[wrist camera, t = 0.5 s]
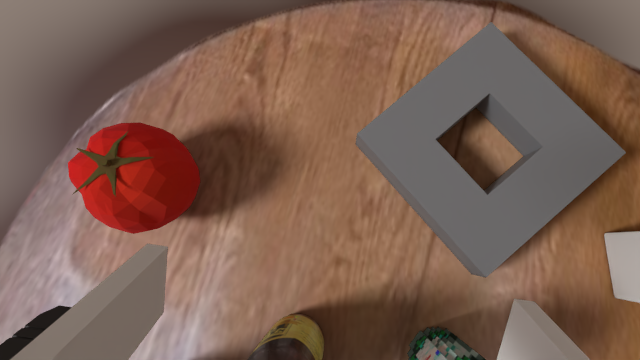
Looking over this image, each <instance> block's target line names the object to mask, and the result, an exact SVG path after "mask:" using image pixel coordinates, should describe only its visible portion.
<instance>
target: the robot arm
mask: <svg viewBox="0 0 640 360" xmlns="http://www.w3.org/2000/svg"><path fill="white" fill-rule="evenodd" d="M167 252H168V247H167V246H160V245H153V244H146V245H145V246H144V247H143V248H142V249H141V250H139V251H138V252H137V253H136V254H135V255H133V256H132V257H131V258H130V259H129V260H127V261H126V262H125V263H124V264H123V265H122V266H120V267H119V268H118V269H117V270H116V271H114V272H113V273H112V274H111V275H110V276H109V277H107V278H106V279H105V280H104V281H103V282H101V283H100V284H99V285H98V286H97V287H96V288H94V289H93V290H92V291H91V292H90V293H88V294H87V295H86V296H85V297H84V298H82V299H81V300H80V301H79V302H78V303H77V304H75V305H74V306H73V307H65V306H57V307H55V308H53V309H51V310H49V311H46V312H44V313H42V314H40V315H38V316H37V317H36V318H34V319H33V320H32V321H31V322H29V323H28V324H27V325H25V328H22V329H20V330H19V331H18V332H16V333H15V334H14V335H13V337H12V338H9V339H7V340H6V341H5V342H4V343H2V344H1V345H0V360H128V359H129V358H130V356H131V355H132V354H133V352H134V351H135V350H136V348H137V347H138V346H139V344H140V343H141V342H142V340H143V339H144V338H145V336H146V335H147V334H148V332H149V331H150V330H151V328H152V327H153V326H154V324H155V323H156V322H157V320H158V319H159V318H160V316H161V315H162V314H163V312H164V297H165V282H166V267H167ZM497 360H590V359H589V358H588V357H587V356H586V355H585V354H584V353H583V352H582V351H581V350H580V349H579V348H578V346H577V345H576V344H575V343H574V342H573V341H572V340H571V339H570V338H569V337H568V336H567V335H566V334H565V333H564V332H563V331H562V330H561V329H560V328H559V327H558V326H557V325H556V324H555V323H554V322H553V320H552V319H551V318H550V317H549V316H548V315H547V314H546V313H545V312H544V311H543V310H542V309H541V308H540V307H539V306H538V305H537V304H536V303H535V302H534V301H527V300H520V299H514V301H513V305H512V308H511V312H510V315H509V319H508V322H507V326H506V329H505V332H504V336H503V339H502V343H501V346H500V350H499V353H498V357H497Z"/></svg>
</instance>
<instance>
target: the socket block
mask: <svg viewBox="0 0 640 360" xmlns="http://www.w3.org/2000/svg"><path fill="white" fill-rule="evenodd" d="M474 108H477V109H478V110H479V111H480V112H481V113H482V114H483V115H484V116H485V117H486V118H487V119H488V120H489V121H490V122H491V123H492V124H493V125H494V126H495V127H496V128H497V129H498V130H499V131H500V132H501V134H502V135H503V136H504V137H505V138H506V139H507V140H508V141H509V142H510V143H511V144H512V145H513V146H514V147H515V148H516V149H517V150H518V151H519V152H520V153H521V154H522V155H523V157H522V158H521V159H520V160H519V161H518V162H516V163H515V164H514V165H513V166H512V167H511V168H509V169H508V170H507V171H506V172H505V173H504V174H503V175H501V176H500V177H499V178H498V179H497V180H496V181H495V182H493V183H492V184H491V185H490V186H489V187H488V188H487V189H485V190H483V189H482V188H481V187H480V186H479V185H478V184H477V183H476V182H475V181H474V180H473V179H472V178H471V177H470V176H469V175H468V173H467V172H466V171H465V170H464V169H463V168H462V167H461V166H460V165H459V164H458V163H457V162H456V161H455V160H454V159H453V157H452V156H451V155H450V154H449V153H448V152H447V151H446V150H445V149H444V148H443V147H442V146H441V145H440V144H439V143H438V142H437V140H438V139H439V138H440V137H441V136H443V135H444V134H445V133H446V132H447V131H449V130H450V129H451V128H452V127H453V126H454V125H456V124H457V123H458V122H459V121H460V120H461V119H463V118H464V117H465V116H466V115H467V114H468V113H470V112H471V111H472V110H473V109H474ZM356 145H357V146H358V147H359V149H360V150H361V151H362V152H363V153H364V154H365V155H366V156H367V158H368V159H369V160H370V161H371V162H372V163H373V164H374V165H375V167H376V168H377V169H378V170H379V171H380V172H381V173H382V174H383V175H384V177H385V178H386V179H387V180H388V181H389V182H390V183H391V184H392V186H393V187H394V188H395V189H396V190H397V191H398V192H399V193H400V195H401V196H402V197H403V198H404V199H405V200H406V201H407V202H408V203H409V205H410V206H411V207H412V208H413V209H414V210H415V211H416V212H417V214H418V215H419V216H420V217H421V218H422V219H423V220H424V221H425V223H426V224H427V225H428V226H429V227H430V228H431V229H432V230H433V231H434V233H435V234H436V235H437V236H438V237H439V238H440V239H441V240H442V242H443V243H444V244H445V245H446V246H447V247H448V248H449V249H450V251H451V252H452V253H453V254H454V255H455V256H456V257H457V258H458V259H459V261H460V262H461V263H462V264H463V265H464V266H465V267H466V268H467V270H468V271H469V272H470V273H471V274H473V275H477V276H482V277H487V276H488V275H489V274H491V273H492V272H493V271H494V270H495V269H496V268H497V267H498V266H500V265H501V264H502V263H503V262H504V261H505V260H506V259H507V258H508V257H510V256H511V255H512V254H513V253H514V252H515V251H516V250H517V249H519V248H520V247H521V246H522V245H523V244H524V243H525V242H526V241H528V240H529V239H530V238H531V237H532V236H533V235H534V234H535V233H537V232H538V231H539V230H540V229H541V228H542V227H543V226H544V225H545V224H547V223H548V222H549V221H550V220H551V219H552V218H553V217H554V216H556V215H557V214H558V213H559V212H560V211H561V210H562V209H563V208H565V207H566V206H567V205H568V204H569V203H570V202H571V201H572V200H573V199H575V198H576V197H577V196H578V195H579V194H580V193H581V192H582V191H584V190H585V189H586V188H587V187H588V186H589V185H590V184H591V183H593V182H594V181H595V180H596V179H597V178H598V177H599V176H600V175H602V174H603V173H604V172H605V171H606V170H607V169H608V168H609V167H610V166H612V165H613V164H614V163H615V162H616V161H617V160H618V159H619V158H621V157H622V156H623V155H624V154H625V153H626V152H625V151H624V150H623V149H622V148H621V147H620V146H619V145H618V144H617V143H616V142H615V141H614V140H613V139H612V138H611V137H610V136H609V135H608V134H607V133H605V132H604V131H603V130H602V129H601V128H600V127H599V126H598V125H597V124H596V123H595V122H594V121H593V120H592V119H591V118H590V117H589V116H588V115H587V114H586V113H585V112H584V111H583V110H582V109H581V108H580V107H579V106H577V105H576V104H575V103H574V102H573V101H572V100H571V99H570V98H569V97H568V96H567V95H566V94H565V93H564V92H563V91H562V90H561V89H560V88H559V87H558V86H557V85H556V84H555V83H554V82H553V81H552V80H551V79H550V78H548V77H547V76H546V75H545V74H544V73H543V72H542V71H541V70H540V69H539V68H538V67H537V66H536V65H535V64H534V63H533V62H532V61H531V60H530V59H529V58H528V57H527V56H526V55H525V54H524V53H523V52H522V51H520V50H519V49H518V48H517V47H516V46H515V45H514V44H513V43H512V42H511V41H510V40H509V39H508V38H507V37H506V36H505V35H504V34H503V33H502V32H501V31H500V30H499V29H498V28H497V27H496V26H495V25H494V24H493V23H491V22H490V23H489V24H488V25H487V26H486V27H484V28H483V29H482V30H481V31H480V32H478V33H477V34H476V35H475V36H474V37H473V38H471V39H470V40H469V41H468V42H467V43H465V44H464V45H463V46H462V47H461V48H459V49H458V50H457V51H456V52H455V53H453V54H452V55H451V56H450V57H449V58H447V59H446V60H445V61H444V62H443V63H441V64H440V65H439V66H438V67H437V68H435V69H434V70H433V71H432V72H431V73H429V74H428V75H427V76H426V77H425V78H423V79H422V80H421V81H420V82H419V83H417V84H416V85H415V86H414V87H413V88H411V89H410V90H409V91H408V92H407V93H405V94H404V95H403V96H402V97H401V98H399V99H398V100H397V101H396V102H395V103H393V104H392V105H391V106H390V107H389V108H387V109H386V110H385V111H384V112H383V113H381V114H380V115H379V116H378V117H377V118H375V119H374V120H373V121H372V122H371V123H369V124H368V125H367V126H366V127H365V128H363V129H362V130H361V131H360V132H359V133H357V138H356Z"/></svg>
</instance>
